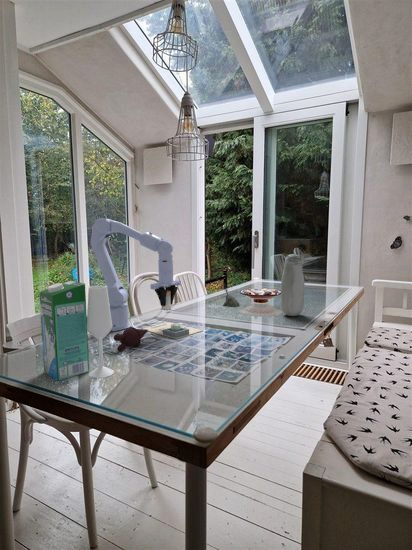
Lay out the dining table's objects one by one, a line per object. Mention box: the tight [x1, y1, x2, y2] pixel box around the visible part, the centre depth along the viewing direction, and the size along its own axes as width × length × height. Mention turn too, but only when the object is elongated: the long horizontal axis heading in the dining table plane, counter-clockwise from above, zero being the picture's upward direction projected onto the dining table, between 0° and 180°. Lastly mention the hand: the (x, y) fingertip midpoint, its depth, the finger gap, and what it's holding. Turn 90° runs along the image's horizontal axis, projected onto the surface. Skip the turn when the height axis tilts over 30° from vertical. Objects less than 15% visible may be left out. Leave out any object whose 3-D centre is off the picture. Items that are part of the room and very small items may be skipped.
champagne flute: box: [86, 285, 115, 379], centre depth 103 cm, size 7×7×24 cm
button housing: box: [162, 327, 189, 339], centre depth 141 cm, size 7×7×2 cm
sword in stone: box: [222, 283, 241, 308], centre depth 195 cm, size 10×8×12 cm
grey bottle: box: [280, 253, 305, 317], centre depth 170 cm, size 10×10×28 cm
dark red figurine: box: [113, 326, 149, 352], centre depth 128 cm, size 7×7×15 cm
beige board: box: [142, 321, 204, 340], centre depth 148 cm, size 14×20×1 cm
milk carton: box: [38, 280, 90, 382], centre depth 103 cm, size 9×9×25 cm
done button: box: [171, 323, 182, 332], centre depth 141 cm, size 4×4×3 cm
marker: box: [162, 290, 172, 311], centre depth 151 cm, size 3×3×8 cm
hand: (166, 305), depth 151 cm, fingers closed on marker, 3 cm apart
